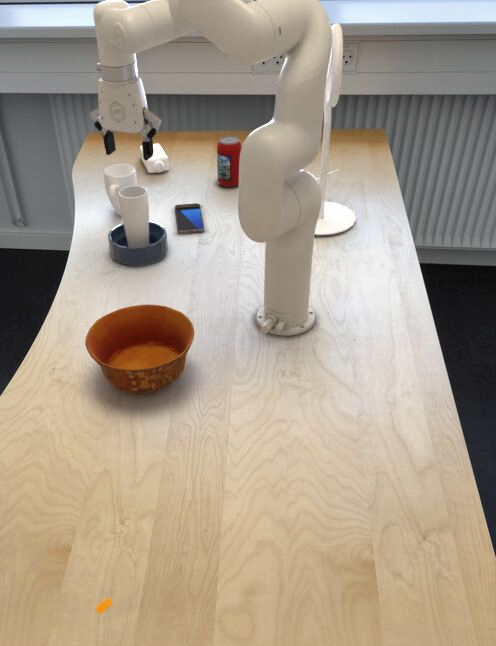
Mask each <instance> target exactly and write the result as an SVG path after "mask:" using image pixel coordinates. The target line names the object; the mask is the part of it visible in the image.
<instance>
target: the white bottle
mask: <svg viewBox="0 0 496 646" xmlns="http://www.w3.org/2000/svg"><path fill="white" fill-rule="evenodd" d="M153 150H154V153H153V156H152V157H151V158H149V159H148V160H144V157H143V148H142V145H140V146H139V157H140V159H141V161H142V163H143V165H144V167H145V169H146V171H147V173H149V174H155V173H164V172H168V171H169V170H170V163H169V157H168V156H167V154H166V152H165V151H164V149H163V148H162V145H161V144H160V143H158V142H157V143H153Z"/></svg>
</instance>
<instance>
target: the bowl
mask: <svg viewBox="0 0 496 646" xmlns="http://www.w3.org/2000/svg"><path fill="white" fill-rule="evenodd" d="M194 338H195V328H194V325H193V322H192V321H191V320H190V318H189V317H188V316H187V315H186V314H184V313H183V312H182V311H179V310H177V309H174V308H172V307H169V306H166V305H160V304H138V305H131V306H126V307H123V308H119V309H117V310H115V311H112V312H109V313H107V314H105V315H103V316H101V317H100V318H99V319H97V320H96V321H95V322H94V323H93V324H92V326H90V328H89V329H88V332H87V334H86V336H85V340H84V342H85V349H86V350H87V353H88V354H89V356H90V357H91V358H92V359H93V361H95V362H96V364H97V365H99V367H100V369H101V371H102V374H103V376H104V378H105V380H106V381H107V382H108V383H109V384H110V385H111V386H113V387H114V388H116V389H118V390H120V391H122V392H125V393H131V394H132V393H133V394H146V393H152V392H153V393H154V392H157V391H160V390H163V389H164V388H167V387H169V386H170V385H172V384H173V383H174V382H176V380H178V379H179V377H181V375H182V374H183V371H184V370H185V365H186V360H187V354H188V352H189V350H190V348H191V346H192V344H193V341H194Z"/></svg>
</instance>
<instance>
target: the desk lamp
mask: <svg viewBox="0 0 496 646" xmlns="http://www.w3.org/2000/svg"><path fill="white" fill-rule="evenodd" d="M331 30H332V53H331V60H330V66H329V72H328V77H327V83H326V91H325V104H324V113H323V129H322V131H323V132H322V145H321V146H322V147H321V158H320V170H319V171H320V172H319V177H317V178H316V179H317V181H319V185H320V188H321V194H322V202H321V208H320V213H319V217H318V220H317V224H316V229H315V235H314V236H331V235H336V234H340V233H343V232H346V231H348V230H349V229H351V228H352V227H354V225H355V223H356V221H357V217H356V214H355V212H354V211H353V210H352V209H351V208H349V207H348V206H346V205H343V204H340V203H337V202H331V201H326V190H327V177H328V175H331V174H333V173H335V172H338V171H340V168H338V169H335V170H332V171H330V172H328V166H329V165H328V164H329V153H330V141H331V128H332V108H335V107H336V106H337V104H338V102H339V99H340V95H341V87H342V77H343V66H344V65H343V62H344V35H343V34H344V33H343V29H342V26H341V24H340V23H338V22H336V23H333V24H332V25H331Z"/></svg>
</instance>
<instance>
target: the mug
mask: <svg viewBox="0 0 496 646" xmlns="http://www.w3.org/2000/svg"><path fill="white" fill-rule="evenodd" d="M103 179H104V186H105V193H106V195H107V198H108V200H109V202H110V204H111V206H112V207H113V209H114V211H115V213H116V214H117V215H118V216H121V217H122V215H121V210H120V203H119V191H120V190H121V189H122V188H124V187H127V186H138V179H137V171H136V168H135V166H133V164H129V163H114V164H111V165H109V166H107V167H106V168H105V169H104V170H103Z"/></svg>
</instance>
